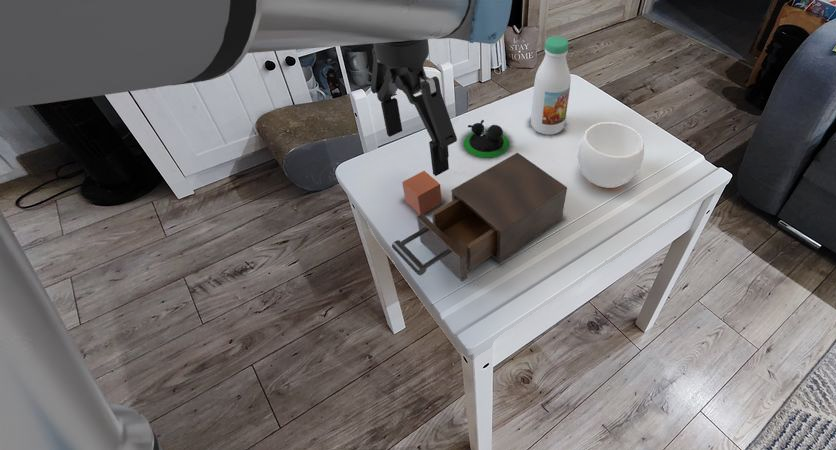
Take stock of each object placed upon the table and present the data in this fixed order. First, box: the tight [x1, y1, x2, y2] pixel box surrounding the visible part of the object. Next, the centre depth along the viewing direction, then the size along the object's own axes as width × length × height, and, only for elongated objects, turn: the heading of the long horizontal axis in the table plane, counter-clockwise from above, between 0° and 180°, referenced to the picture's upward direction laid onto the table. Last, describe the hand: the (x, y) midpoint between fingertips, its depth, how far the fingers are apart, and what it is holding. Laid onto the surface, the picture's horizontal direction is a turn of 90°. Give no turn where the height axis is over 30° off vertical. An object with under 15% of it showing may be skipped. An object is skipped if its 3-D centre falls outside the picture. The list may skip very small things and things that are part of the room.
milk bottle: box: [530, 35, 572, 135], centre depth 97 cm, size 8×8×20 cm
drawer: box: [391, 198, 497, 282], centre depth 76 cm, size 21×11×6 cm, turn 132°
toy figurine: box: [463, 119, 510, 159], centre depth 97 cm, size 10×10×6 cm
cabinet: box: [451, 152, 568, 264], centre depth 81 cm, size 16×13×8 cm
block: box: [401, 170, 443, 215], centre depth 85 cm, size 5×5×5 cm
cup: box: [577, 121, 645, 189], centre depth 89 cm, size 12×12×10 cm
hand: (417, 151), depth 78 cm, fingers open, 13 cm apart
